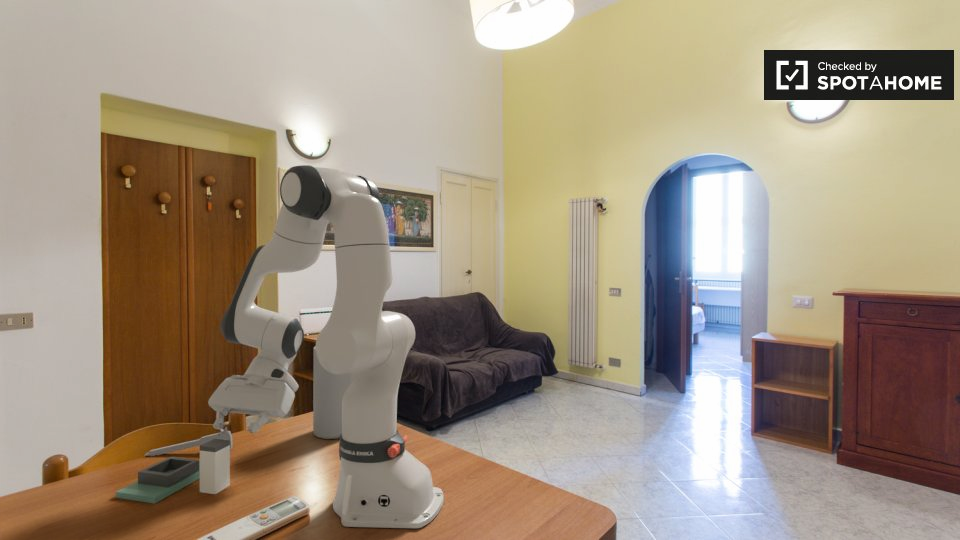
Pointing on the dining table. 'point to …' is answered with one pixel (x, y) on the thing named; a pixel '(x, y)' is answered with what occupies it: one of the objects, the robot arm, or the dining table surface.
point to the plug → (214, 466)
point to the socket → (161, 480)
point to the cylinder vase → (328, 401)
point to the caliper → (193, 443)
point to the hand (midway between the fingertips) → (234, 430)
